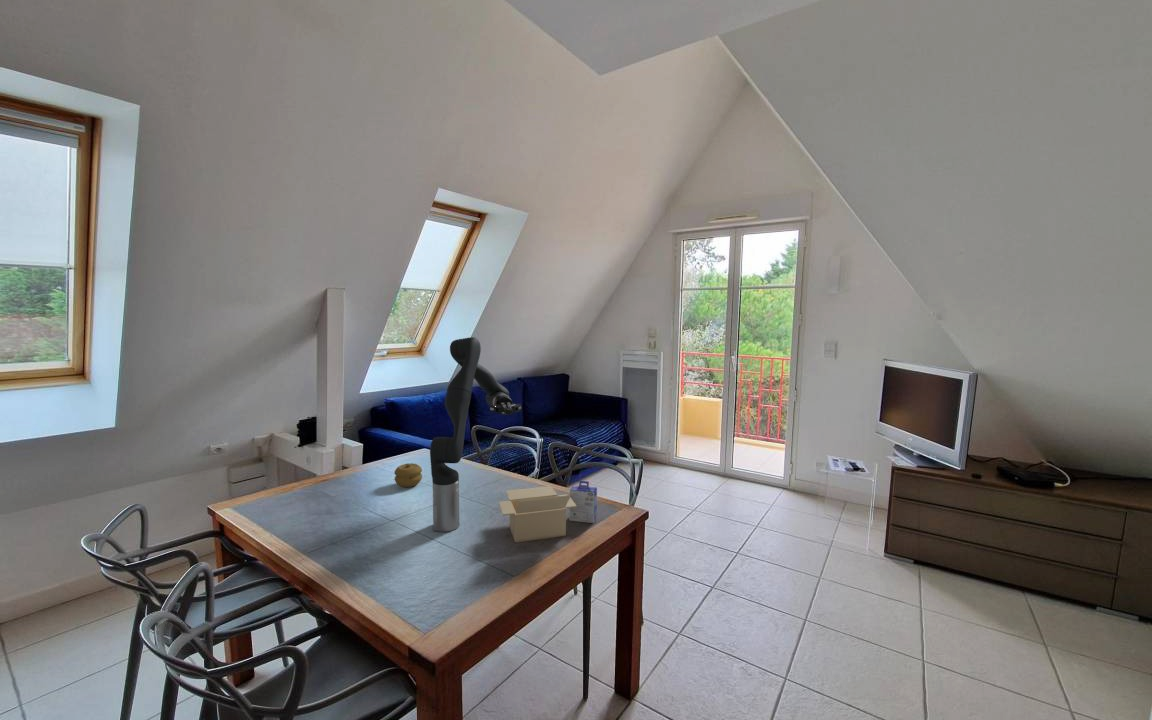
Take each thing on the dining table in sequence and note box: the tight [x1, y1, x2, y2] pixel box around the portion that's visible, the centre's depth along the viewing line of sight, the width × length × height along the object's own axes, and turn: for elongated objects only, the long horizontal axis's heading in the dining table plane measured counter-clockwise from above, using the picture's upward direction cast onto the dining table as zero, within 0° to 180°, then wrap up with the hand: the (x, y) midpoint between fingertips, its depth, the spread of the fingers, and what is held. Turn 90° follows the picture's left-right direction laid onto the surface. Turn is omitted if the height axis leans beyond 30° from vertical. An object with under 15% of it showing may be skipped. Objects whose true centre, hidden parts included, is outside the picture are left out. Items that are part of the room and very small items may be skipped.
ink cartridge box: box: [568, 480, 598, 524], centre depth 179 cm, size 10×6×14 cm, turn 78°
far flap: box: [516, 494, 570, 513], centre depth 159 cm, size 17×9×1 cm
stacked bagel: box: [394, 462, 423, 488], centre depth 211 cm, size 12×12×10 cm
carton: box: [498, 485, 577, 544], centre depth 173 cm, size 26×21×10 cm
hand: (509, 412), depth 180 cm, fingers closed
